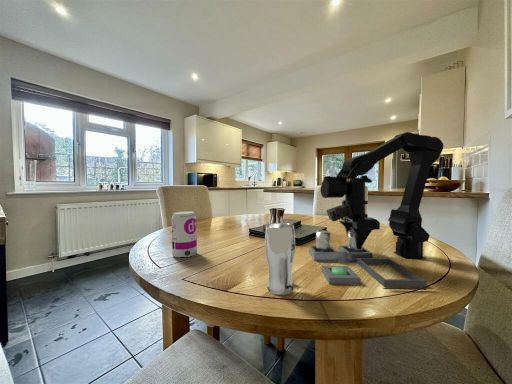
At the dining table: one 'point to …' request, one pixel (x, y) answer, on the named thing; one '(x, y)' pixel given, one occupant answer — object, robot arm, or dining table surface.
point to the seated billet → (322, 241)
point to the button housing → (340, 276)
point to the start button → (339, 271)
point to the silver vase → (280, 257)
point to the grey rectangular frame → (412, 282)
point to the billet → (352, 243)
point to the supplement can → (184, 234)
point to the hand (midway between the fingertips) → (354, 246)
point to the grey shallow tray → (338, 255)
